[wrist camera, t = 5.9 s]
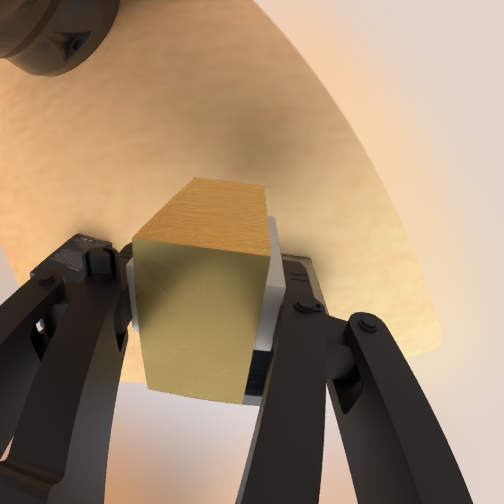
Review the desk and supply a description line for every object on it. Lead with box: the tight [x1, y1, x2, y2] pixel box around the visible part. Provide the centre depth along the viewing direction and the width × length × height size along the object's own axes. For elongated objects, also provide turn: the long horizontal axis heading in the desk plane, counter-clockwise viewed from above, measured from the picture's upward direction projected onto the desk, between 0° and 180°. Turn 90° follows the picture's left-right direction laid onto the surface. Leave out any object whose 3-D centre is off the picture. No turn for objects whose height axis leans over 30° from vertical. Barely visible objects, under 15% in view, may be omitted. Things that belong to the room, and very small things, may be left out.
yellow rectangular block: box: [132, 178, 271, 404], centre depth 12 cm, size 6×4×8 cm, turn 172°
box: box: [30, 234, 111, 328], centre depth 30 cm, size 8×6×11 cm
